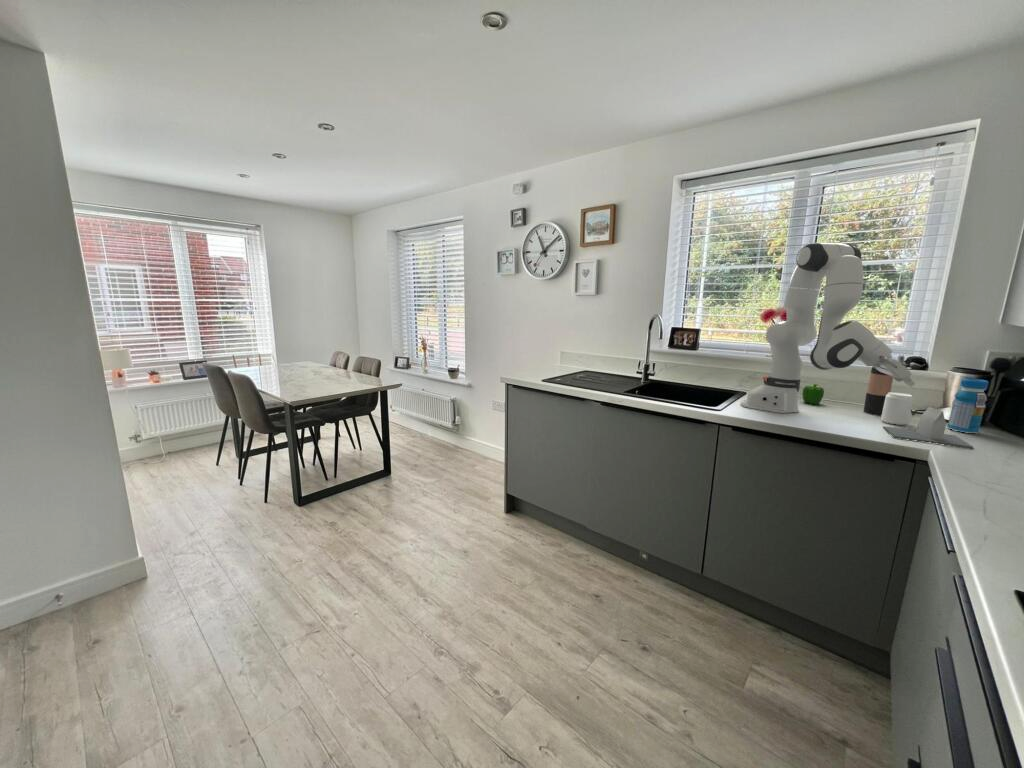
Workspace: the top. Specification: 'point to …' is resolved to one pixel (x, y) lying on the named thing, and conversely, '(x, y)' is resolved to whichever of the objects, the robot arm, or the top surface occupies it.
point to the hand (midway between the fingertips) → (906, 382)
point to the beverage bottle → (968, 406)
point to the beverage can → (897, 408)
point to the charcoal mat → (912, 435)
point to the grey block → (932, 424)
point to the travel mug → (877, 392)
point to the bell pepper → (813, 394)
